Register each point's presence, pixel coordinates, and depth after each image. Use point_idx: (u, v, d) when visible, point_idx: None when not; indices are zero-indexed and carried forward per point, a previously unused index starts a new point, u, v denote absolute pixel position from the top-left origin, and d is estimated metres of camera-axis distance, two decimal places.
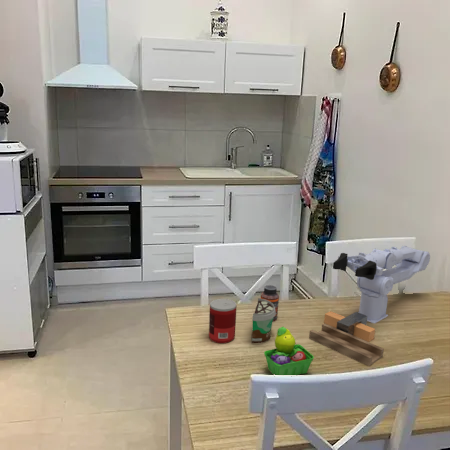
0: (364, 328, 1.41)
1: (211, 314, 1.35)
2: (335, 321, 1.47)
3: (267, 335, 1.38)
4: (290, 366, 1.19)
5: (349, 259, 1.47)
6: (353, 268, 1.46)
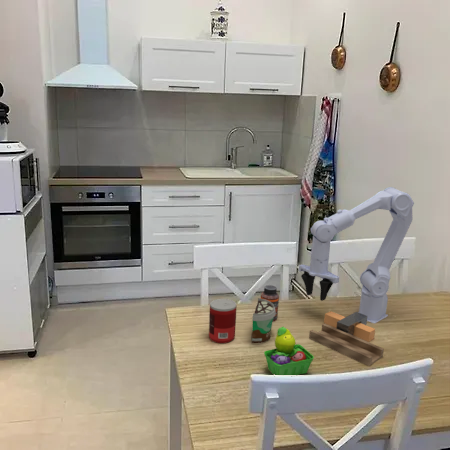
0: (364, 328, 1.41)
1: (211, 314, 1.35)
2: (335, 321, 1.47)
3: (267, 335, 1.38)
4: (290, 366, 1.19)
5: None
6: None
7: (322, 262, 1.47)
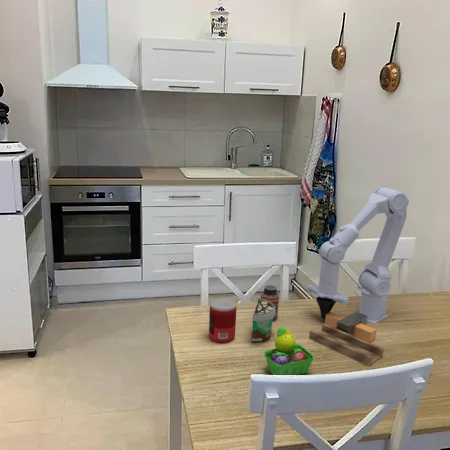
0: (365, 328, 1.41)
1: (211, 314, 1.35)
2: (336, 322, 1.47)
3: (267, 335, 1.38)
4: (290, 366, 1.19)
5: None
6: None
7: (331, 284, 1.46)
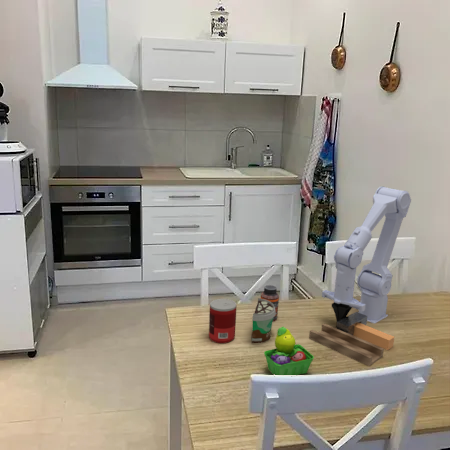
0: (383, 336, 1.37)
1: (211, 314, 1.35)
2: None
3: (267, 335, 1.38)
4: (290, 366, 1.19)
5: None
6: None
7: (347, 289, 1.42)
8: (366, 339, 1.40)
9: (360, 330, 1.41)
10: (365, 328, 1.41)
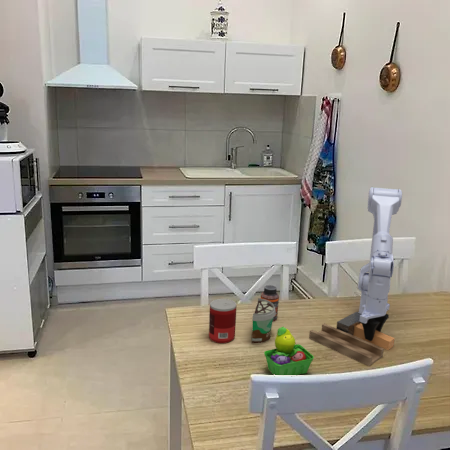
0: (383, 337, 1.37)
1: (211, 314, 1.35)
2: None
3: (267, 335, 1.38)
4: (290, 366, 1.19)
5: None
6: None
7: (368, 297, 1.36)
8: (366, 340, 1.40)
9: (361, 330, 1.41)
10: None
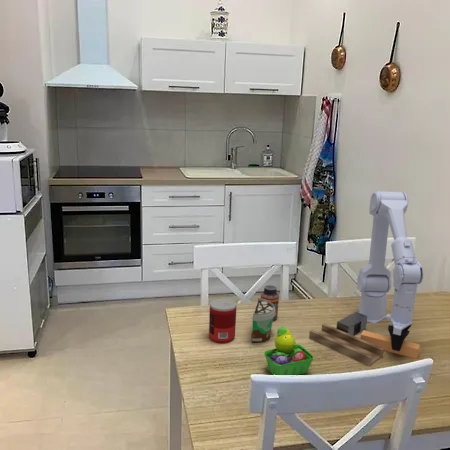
0: (410, 345, 1.32)
1: (211, 314, 1.35)
2: (374, 341, 1.36)
3: (267, 335, 1.38)
4: (290, 366, 1.19)
5: None
6: None
7: (395, 307, 1.30)
8: (391, 351, 1.34)
9: (384, 342, 1.34)
10: (388, 339, 1.35)
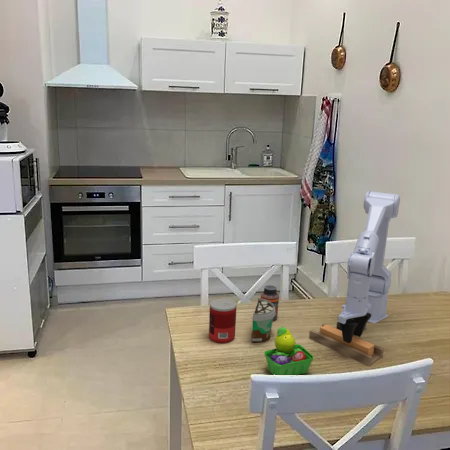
0: (362, 344, 1.30)
1: (211, 314, 1.35)
2: (331, 336, 1.37)
3: (267, 335, 1.38)
4: (290, 366, 1.19)
5: None
6: None
7: (347, 296, 1.30)
8: None
9: (339, 337, 1.35)
10: None
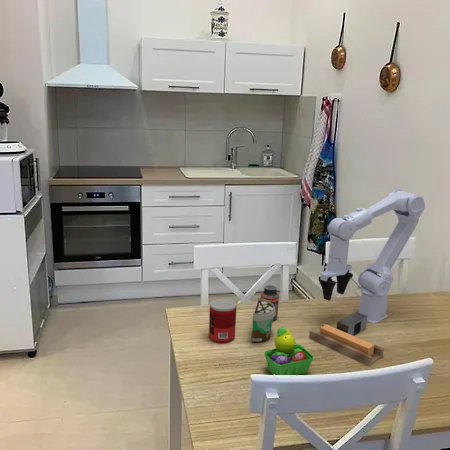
0: (362, 344, 1.30)
1: (211, 314, 1.35)
2: (331, 336, 1.37)
3: (267, 335, 1.38)
4: (290, 366, 1.19)
5: None
6: None
7: (329, 257, 1.46)
8: None
9: (339, 337, 1.35)
10: (344, 335, 1.35)
